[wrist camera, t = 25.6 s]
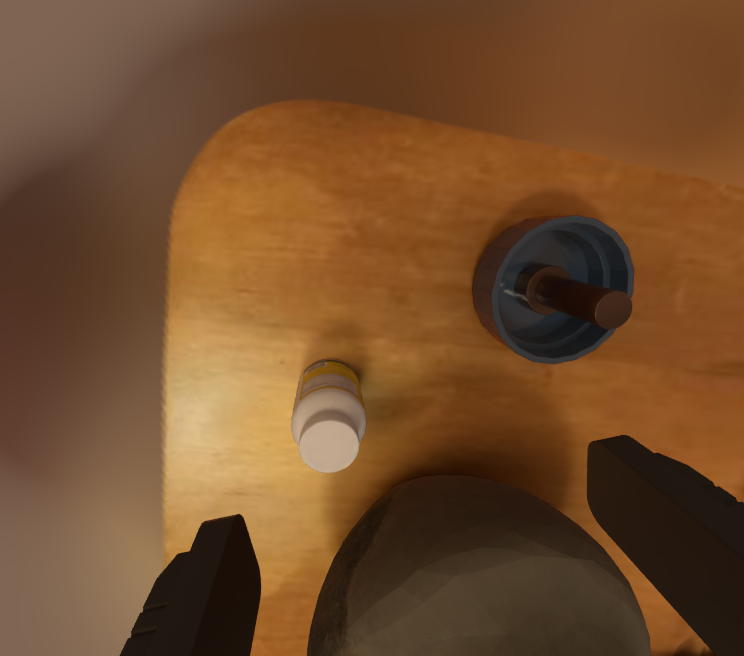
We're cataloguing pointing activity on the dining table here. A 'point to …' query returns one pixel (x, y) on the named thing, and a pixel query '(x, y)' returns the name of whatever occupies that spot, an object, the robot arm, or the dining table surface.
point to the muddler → (571, 296)
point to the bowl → (559, 248)
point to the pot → (473, 579)
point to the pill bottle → (328, 416)
